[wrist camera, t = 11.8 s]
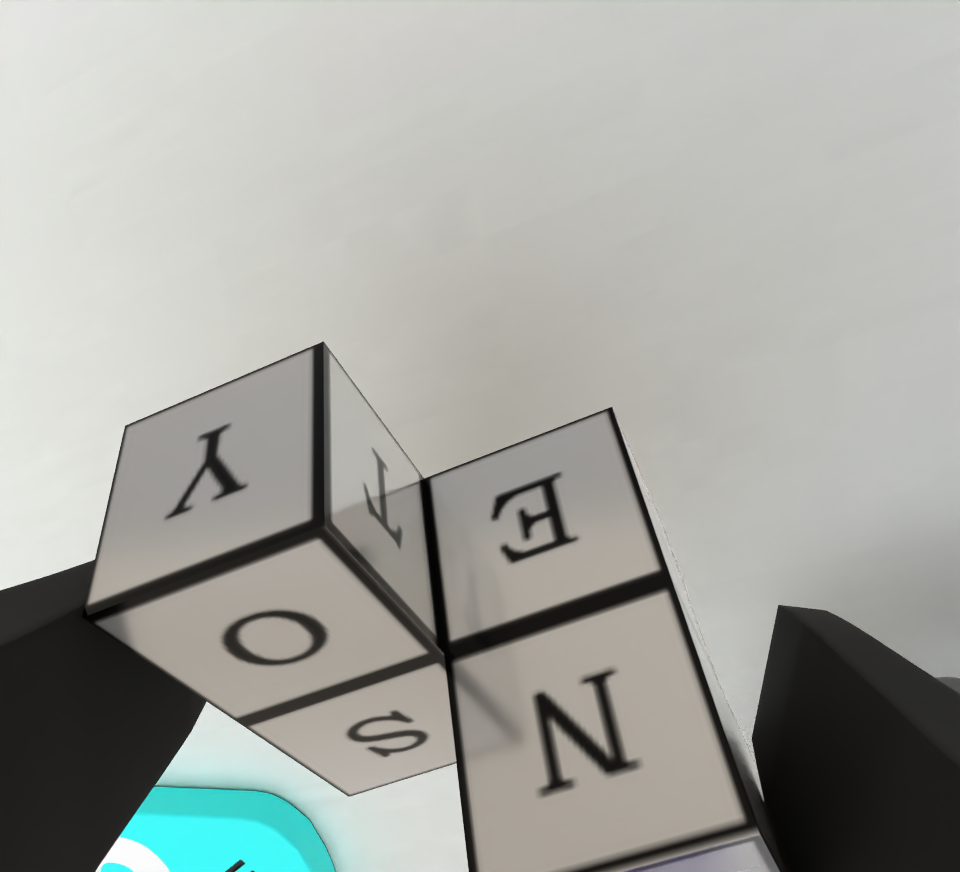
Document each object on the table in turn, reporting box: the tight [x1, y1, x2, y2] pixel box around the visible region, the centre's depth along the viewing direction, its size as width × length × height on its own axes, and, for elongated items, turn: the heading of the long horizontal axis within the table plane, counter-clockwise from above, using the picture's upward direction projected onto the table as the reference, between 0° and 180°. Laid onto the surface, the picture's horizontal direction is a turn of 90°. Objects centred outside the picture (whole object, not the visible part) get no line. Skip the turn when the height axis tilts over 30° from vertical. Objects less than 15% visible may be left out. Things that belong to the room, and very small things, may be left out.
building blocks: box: [82, 342, 788, 872], centre depth 11 cm, size 5×5×8 cm
